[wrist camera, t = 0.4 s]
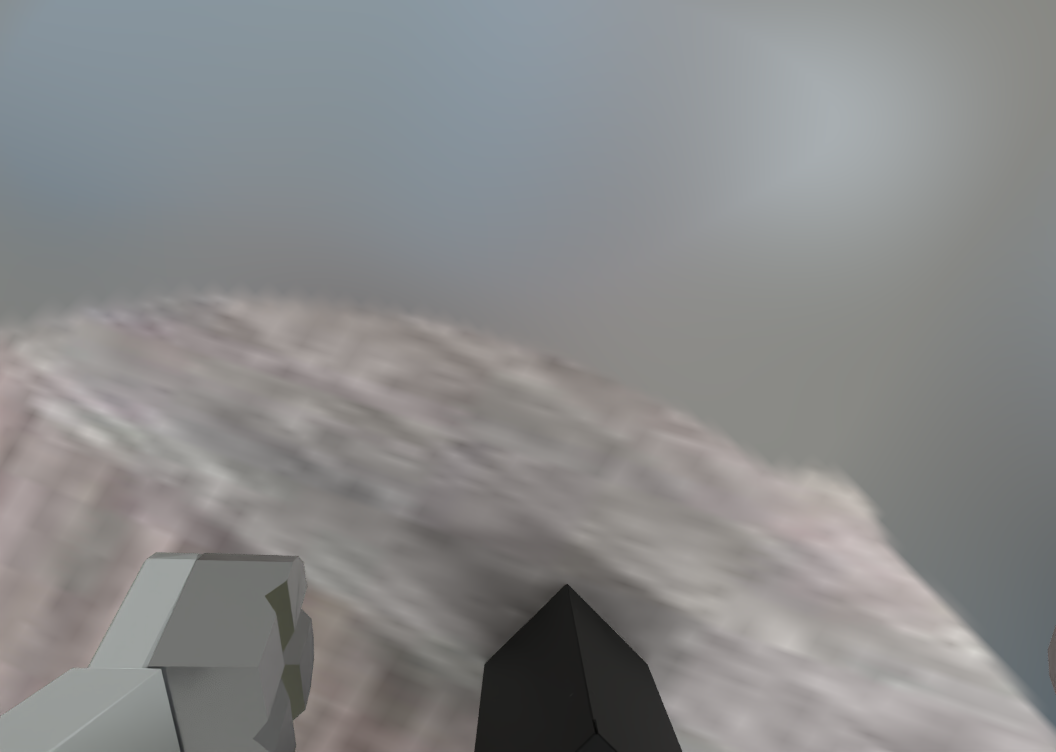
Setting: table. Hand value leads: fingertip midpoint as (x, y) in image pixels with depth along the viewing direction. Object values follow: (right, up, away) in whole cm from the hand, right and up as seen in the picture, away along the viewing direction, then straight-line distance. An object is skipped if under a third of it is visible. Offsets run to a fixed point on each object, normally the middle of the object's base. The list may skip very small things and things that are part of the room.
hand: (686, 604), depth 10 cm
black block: (+1, -17, +53) cm, 56 cm away
